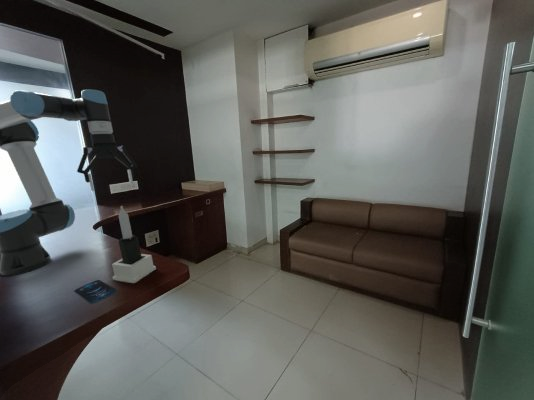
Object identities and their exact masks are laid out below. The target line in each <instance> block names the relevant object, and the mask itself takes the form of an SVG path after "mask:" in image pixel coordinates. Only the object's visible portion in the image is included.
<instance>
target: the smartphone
mask: <svg viewBox="0 0 534 400" xmlns="http://www.w3.org/2000/svg"><path fill="white" fill-rule="evenodd" d="M74 292H75V293H76V294H77V295H78V296H80V298H82V299H84V301H86V302H87V303H88V304H91V305H93V304H96V303H98V302H100V301H102V300H104V299H106V298H108V297H109V296H111V295H113V294H116V293H117V292H118V290H117V289H116V288H114V287H112V286H110V285H109V284H107V283H105V282H104V281H103V280H100V279H97V280H94V281H92V282H88V283H87V284H84V285H82V286H80V287H77V288H76V289H74Z"/></svg>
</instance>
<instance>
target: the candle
mask: <svg viewBox="0 0 534 400" xmlns="http://www.w3.org/2000/svg"><path fill="white" fill-rule="evenodd" d="M119 209H120V212H119V215H118V219H119V224H120V230H121V235H122V237H121V238H119V239H118V245H119V249H120V250H119V251H120V254H121V259H123V264H130V265H132V264H134V263H135V262H137V261H139V260H141V259H142V257H141V254H142V252H141V247H140V243H139V238H138V237H137V236H136V235H135V234H133V233H132V232H133V231H132V226H131V222H130V218H129V214H128V213H127V212H126V211H125V210H124V206H123V205H120V207H119Z"/></svg>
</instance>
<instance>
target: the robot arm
mask: <svg viewBox="0 0 534 400" xmlns="http://www.w3.org/2000/svg"><path fill="white" fill-rule="evenodd" d="M80 93H81V97H80V98H68V97H61V96H55V95H50V94H45V93H39V92H34V91H31V90H30V91H29V90H20V89H19V90H14V91H13V92H12V94H11V95H10V99H9V100H6V101H3V102H0V149H1V150H3V151H5V152H7V154H8V156H9V158H10V161H11V162H12V165H13V167H14V169H15V171H16V173H17V175H18V177H19V179H20V182H21V184H22V186H23V187H24V190H25V192H26V195H27V196H28V199H29V201H30V203H31V204H30V206H29V208H28V209H19V210H16V211H15V210H14V211H10V212H7V213H4V214H0V254H1V256H0V274H1V276H15V275H20V274H24V273H28V272H32V271H34V270H36V269H40V268H41V267H44V266H46V265H47V264H49V263H50V262H51V260H52V258H51V256H50V254H49V252H48V251H47V250H46V249H45V247H44V246H43V245H42V243H41V240H40V238H41V237H42V238H43V237H45V236H48V235H50V234H54V233H57V232H61V231H64V230H65V229H67V228H70V227H71V226H73V225H74V222H75V221H76V220H75V219H76V214H75V210H74V209H73V207H72V206H71V205H69V204H67V203H64V202H63V200H62V199H60V198H59V197H58V198H57V196H56V193H55V191H54V190H53V188H52V185H51V183H50V180H49V178H48V176H47V174H46V172H45V169H44V167H43V166H42V163H41V161H40V158H39V156H38V153H37V151H36V150H35V147H36V146H37V141H38V140H39V139H40V136H39V135H40V133H39V130H38V128H37V125H36V124H35V123H34V122H33V121H34V120H37V119H38V120H39V119H41V118H50V119H61V120H64V121H68V122H69V121H70V122H79V121H84V120H86V122H87V126H88V132H89V133H90V140H91V144H92V147H87V146H84V147H83V148H82V152H83V154H82V157H81V158H80V162H79V165H78V168H77V170H76V172H77V173H79V174H83V175H84V180H85V182H86V183H89V186H90V190H91V191H92V192H94V191H95V187H94V182H93V178H92V174H91V173H89V172H90V171H91V170H92V168H93V167H94V166H95V165H96V163H97V162H98V160H99V159H107V158H109V159H113V158H115V159H116V160H117V161H118V162H120V163H121V164H123V165H124V166H125V167H126V168H127V177H128V182H129V185H130V186H134V181H133V179H134V177H135V171H134V170H135V169H136V168H138V167H139V166H138V164H137V163H136V161H135V160H134V159H133V158H132V156H131V155H130V154H129V152H128V151H127V148H126V146H125V145H121V146H117V144H116V140H115V136H114V134H113V133H114V130H113V125H112V120H111V115H110V111H109V105H108V104H109V103H108V101H107V97H106V94H105V92H103V91H101V90H97V89H89V88H88V89H82V90H81V92H80ZM118 150H119V152H121V153H122V154H123V156H125V158H126V159H127V160H125V159H124V158H122V157H121V156H120V155H119V154H118V153H117V152H118ZM91 152H93V153H94V154H95V155H94V157H93V159H91V160H90V162H89V163H88V165H87V166H86V168H85V169H84V166H85V163H86V161H87V158H88V156H89V155H88V154H90V153H91ZM127 161H128V162H127Z"/></svg>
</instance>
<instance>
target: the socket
mask: <svg viewBox="0 0 534 400" xmlns="http://www.w3.org/2000/svg"><path fill="white" fill-rule="evenodd" d="M141 257H142V259H141V260H139V261H137V262H135V263H134V264H132V265H130V264H123V259H122V258H121V259H119V260H117V261H115V262H114V263H112V264H111V266H112V271H113V276H111V277H112V280H113V281H117V282H123V283H129V284H136V283H138V282H139V281H141V280H142V279H143V278H145V277H147V276H148V275H150V274H151V273H152V272H153V271H155V270H157V267H156V265H154V262H153V256H152V254H145V253H141Z"/></svg>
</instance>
